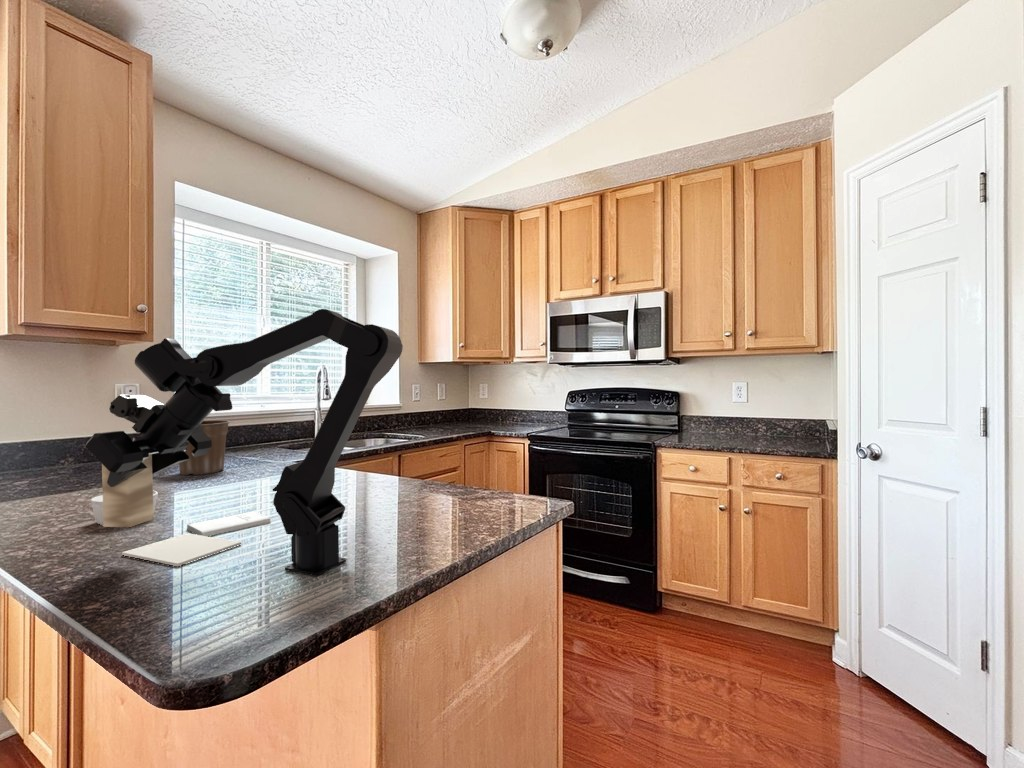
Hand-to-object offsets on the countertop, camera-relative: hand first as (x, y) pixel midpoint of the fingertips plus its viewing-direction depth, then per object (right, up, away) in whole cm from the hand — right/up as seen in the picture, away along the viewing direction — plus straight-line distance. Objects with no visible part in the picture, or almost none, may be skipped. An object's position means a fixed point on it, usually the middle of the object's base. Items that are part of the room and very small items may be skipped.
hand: (123, 481), depth 80 cm
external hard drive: (+6, -13, +19) cm, 24 cm away
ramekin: (-19, -13, +24) cm, 34 cm away
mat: (+6, -13, +5) cm, 15 cm away
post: (+1, -7, 0) cm, 7 cm away
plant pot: (-38, -13, +80) cm, 90 cm away
